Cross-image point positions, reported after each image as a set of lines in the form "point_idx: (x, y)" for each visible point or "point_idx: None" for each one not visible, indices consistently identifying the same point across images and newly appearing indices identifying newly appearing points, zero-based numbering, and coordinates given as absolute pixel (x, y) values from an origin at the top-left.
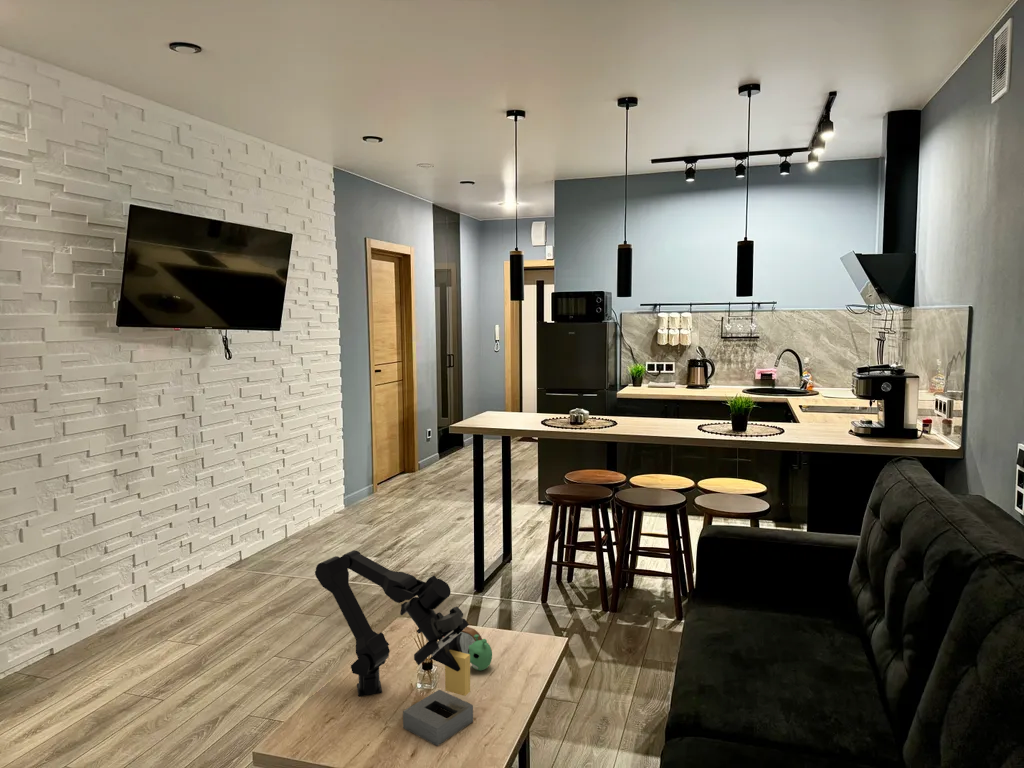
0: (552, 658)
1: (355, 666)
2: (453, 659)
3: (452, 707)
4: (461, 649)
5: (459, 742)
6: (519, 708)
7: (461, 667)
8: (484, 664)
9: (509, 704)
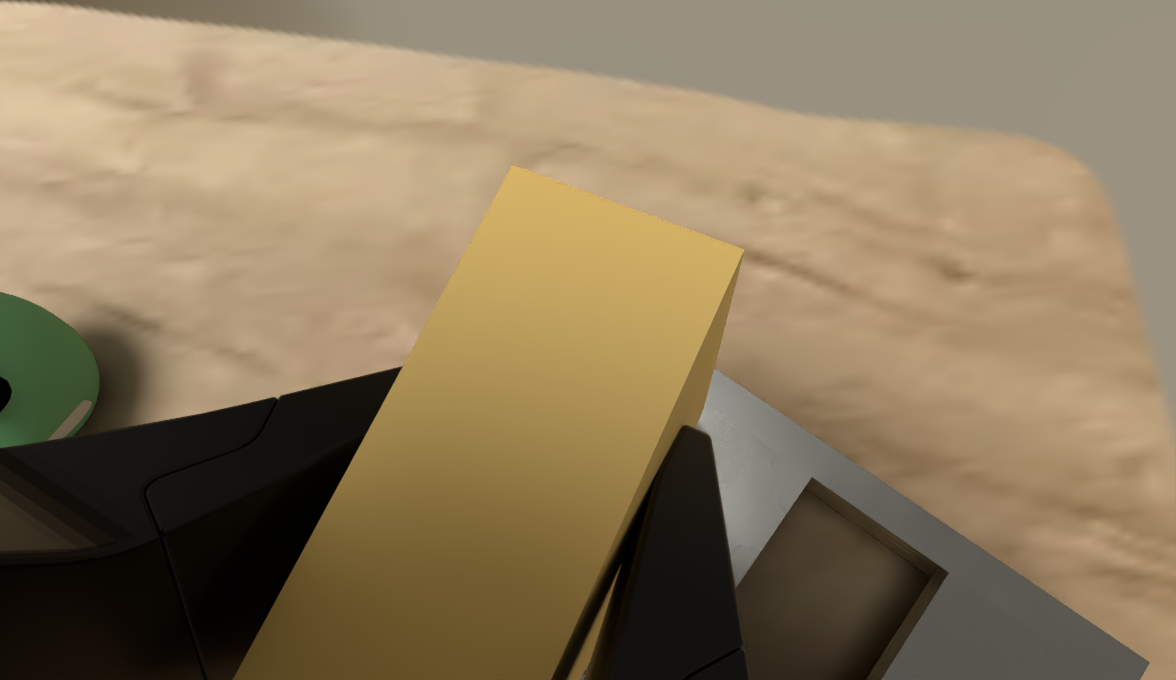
0: (56, 13)
1: None
2: (690, 586)
3: (751, 536)
4: (240, 405)
5: (959, 454)
6: (537, 122)
7: (693, 397)
8: (74, 348)
9: (493, 181)
